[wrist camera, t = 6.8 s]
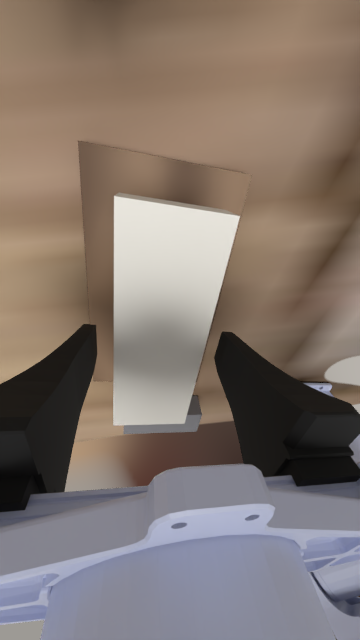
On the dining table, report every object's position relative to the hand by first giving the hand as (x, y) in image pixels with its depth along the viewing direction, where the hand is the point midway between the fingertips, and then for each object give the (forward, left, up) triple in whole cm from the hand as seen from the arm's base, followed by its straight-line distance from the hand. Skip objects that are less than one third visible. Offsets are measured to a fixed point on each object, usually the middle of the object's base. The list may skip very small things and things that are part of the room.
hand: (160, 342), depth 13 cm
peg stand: (0, 0, -6) cm, 7 cm away
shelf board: (0, 0, -1) cm, 1 cm away
